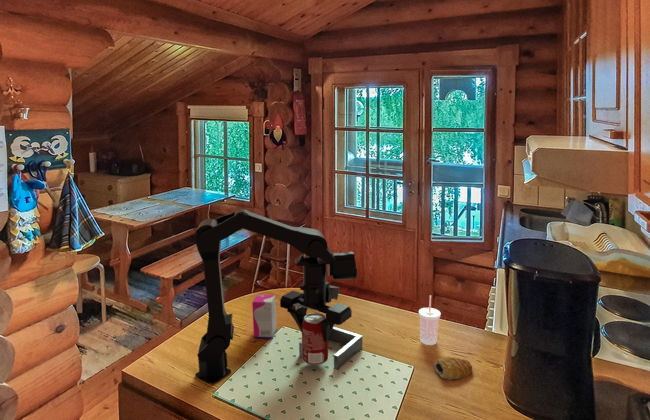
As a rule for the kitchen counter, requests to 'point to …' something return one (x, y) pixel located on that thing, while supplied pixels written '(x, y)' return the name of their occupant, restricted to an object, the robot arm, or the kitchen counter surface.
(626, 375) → the kitchen counter surface
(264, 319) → the supplement box
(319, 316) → the soda can
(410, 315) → the kitchen counter surface
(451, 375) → the pastry
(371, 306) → the kitchen counter surface
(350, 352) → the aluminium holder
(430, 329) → the beverage cup
